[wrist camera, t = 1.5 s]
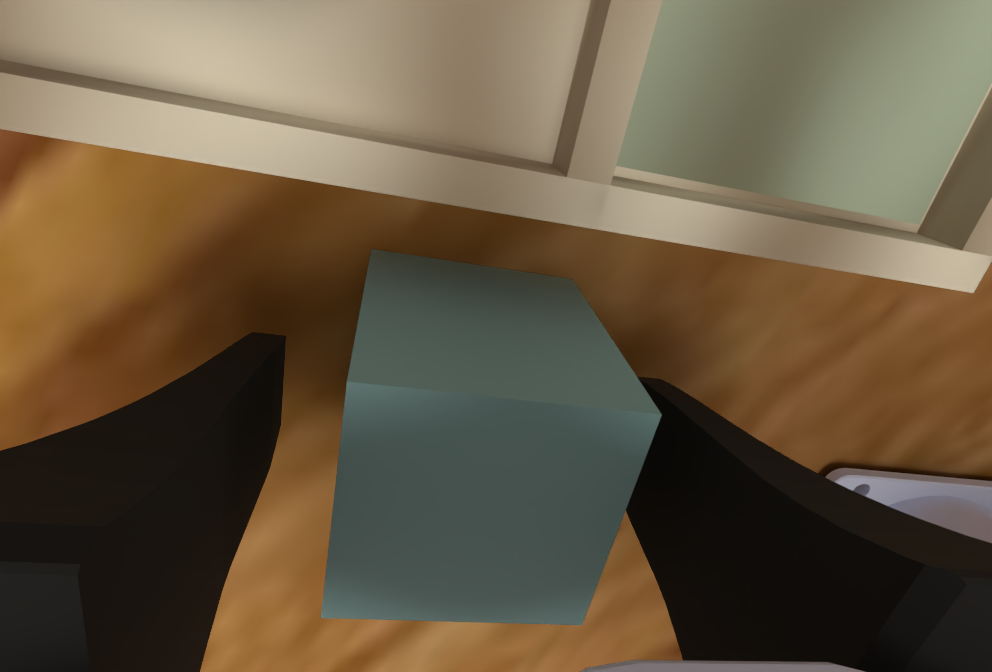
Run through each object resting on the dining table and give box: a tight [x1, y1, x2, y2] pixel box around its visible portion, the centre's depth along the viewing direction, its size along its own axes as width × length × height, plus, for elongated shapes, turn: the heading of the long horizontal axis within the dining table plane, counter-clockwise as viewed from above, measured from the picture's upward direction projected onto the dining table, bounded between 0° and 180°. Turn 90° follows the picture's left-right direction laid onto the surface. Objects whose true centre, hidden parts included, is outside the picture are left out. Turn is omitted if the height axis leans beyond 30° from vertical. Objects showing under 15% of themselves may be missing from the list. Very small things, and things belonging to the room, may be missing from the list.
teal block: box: [321, 249, 662, 625], centre depth 12 cm, size 4×4×6 cm
